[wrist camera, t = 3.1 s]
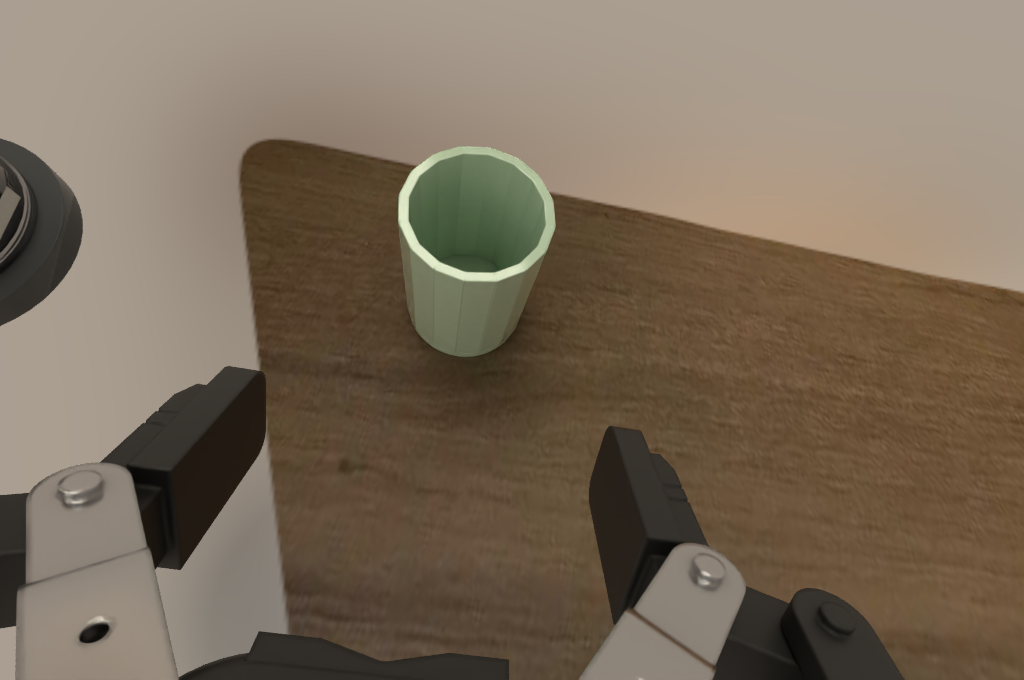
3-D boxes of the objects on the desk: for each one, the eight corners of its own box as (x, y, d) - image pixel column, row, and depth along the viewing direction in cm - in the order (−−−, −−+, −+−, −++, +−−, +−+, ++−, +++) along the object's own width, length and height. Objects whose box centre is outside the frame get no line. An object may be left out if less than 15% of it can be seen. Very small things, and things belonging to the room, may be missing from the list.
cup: (407, 357, 28) (396, 280, 19) (408, 253, 30) (399, 142, 21) (523, 356, 28) (561, 282, 20) (516, 255, 30) (549, 149, 22)
